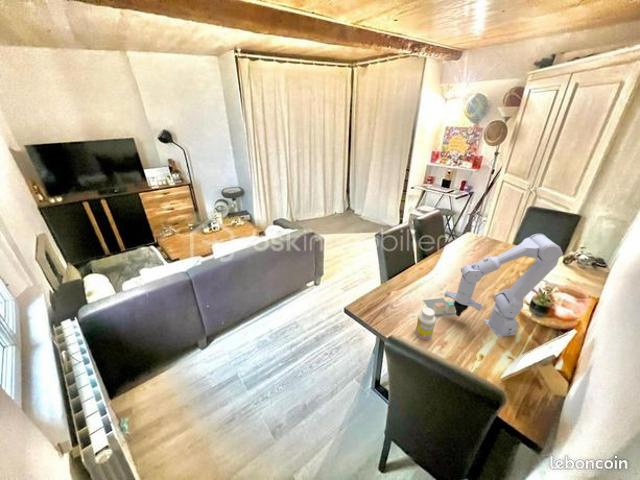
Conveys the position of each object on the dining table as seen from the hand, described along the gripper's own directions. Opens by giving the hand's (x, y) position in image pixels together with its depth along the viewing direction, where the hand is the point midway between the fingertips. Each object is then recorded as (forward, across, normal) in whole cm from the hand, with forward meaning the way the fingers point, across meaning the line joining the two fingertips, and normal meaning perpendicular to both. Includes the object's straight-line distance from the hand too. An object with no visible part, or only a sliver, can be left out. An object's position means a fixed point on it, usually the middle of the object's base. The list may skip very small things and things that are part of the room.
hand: (458, 314), depth 111 cm
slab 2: (+3, +4, -4) cm, 6 cm away
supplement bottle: (+4, +8, +17) cm, 20 cm away
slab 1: (+3, +8, +1) cm, 9 cm away
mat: (+4, +9, -4) cm, 10 cm away
